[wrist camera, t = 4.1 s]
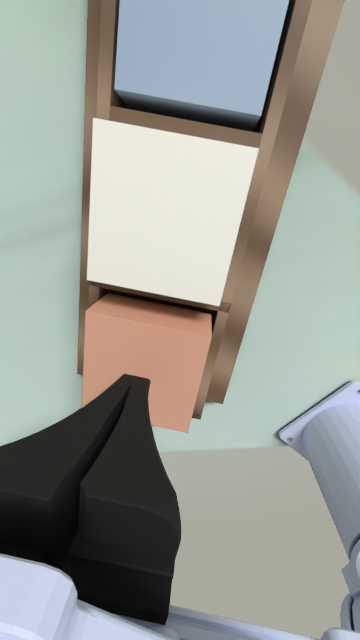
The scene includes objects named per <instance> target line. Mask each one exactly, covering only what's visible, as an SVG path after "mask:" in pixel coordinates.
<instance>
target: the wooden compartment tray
mask: <svg viewBox="0 0 360 640" xmlns="http://www.w3.org/2000/svg"><path fill="white" fill-rule="evenodd" d="M343 3H344V0H289V3H288V7H287V11H286V16H285V20H284V24H283V28H282V32H281V36H280V40H279V44H278V48H277V53H276V57H275V61H274V65H273V69H272V73H271V77H270V81H269V86H268V90H267V94H266V98H265V102H264V106H263V110H262V114H261V117H260V119H259V121H258V122H257V124H256V126H255V128H254V130H253V132H251V131H245V130H240V129H234V128H229V127H223V126H218V125H212V124H207V123H202V122H196V121H191V120H185V119H180V118H174V117H169V116H164V115H158V114H153V113H147V112H142V111H136V110H131V109H129V108H128V107H127V105H126V104H125V103H124V101H123V100H122V99H121V97H120V96H119V95H118V93H117V92H116V91H115V89H114V85H115V69H116V53H117V37H118V21H119V5H120V0H88V19H87V54H86V89H85V124H84V159H83V195H82V230H81V265H80V300H79V335H78V371H77V374H81V375H83V365H84V339H85V313H86V310H87V309H89V308H90V307H91V306H92V305H94V304H95V303H96V302H97V301H99V300H100V299H101V298H102V297H104V296H105V295H106V294H107V293H111V294H116V295H121V296H126V297H131V298H136V299H141V300H146V301H151V302H156V303H161V304H166V305H171V306H176V307H181V308H186V309H191V310H196V311H201V312H206V313H211V323H212V338H211V342H210V346H209V350H208V354H207V358H206V362H205V366H204V370H203V374H202V378H201V382H200V386H199V390H198V394H197V398H196V402H195V406H194V410H193V414H192V418H196V419H201V415H202V411H203V407H204V404H205V400H206V401H211V402H216V403H221V404H223V401H224V398H225V395H226V391H227V388H228V385H229V381H230V378H231V375H232V372H233V368H234V365H235V362H236V358H237V355H238V352H239V348H240V345H241V342H242V338H243V335H244V332H245V328H246V325H247V322H248V318H249V315H250V312H251V309H252V305H253V302H254V299H255V295H256V292H257V289H258V285H259V282H260V279H261V275H262V272H263V269H264V265H265V262H266V259H267V256H268V252H269V249H270V246H271V242H272V239H273V236H274V232H275V229H276V226H277V222H278V219H279V216H280V212H281V209H282V206H283V202H284V199H285V196H286V193H287V189H288V186H289V183H290V179H291V176H292V173H293V169H294V166H295V163H296V159H297V156H298V153H299V149H300V146H301V143H302V140H303V136H304V133H305V130H306V126H307V123H308V120H309V116H310V113H311V110H312V106H313V103H314V99H315V96H316V93H317V90H318V86H319V83H320V80H321V76H322V73H323V70H324V67H325V63H326V60H327V57H328V53H329V50H330V47H331V43H332V40H333V37H334V33H335V30H336V26H337V23H338V20H339V17H340V14H341V10H342V7H343ZM93 118H98V119H103V120H108V121H114V122H119V123H125V124H130V125H135V126H141V127H146V128H152V129H157V130H162V131H168V132H173V133H179V134H184V135H189V136H195V137H200V138H205V139H211V140H216V141H222V142H227V143H232V144H238V145H243V146H249V147H254V148H259V151H258V155H257V159H256V163H255V167H254V171H253V175H252V179H251V183H250V187H249V191H248V195H247V199H246V203H245V207H244V211H243V215H242V219H241V222H240V226H239V230H238V234H237V238H236V242H235V246H234V250H233V254H232V258H231V262H230V266H229V270H228V274H227V278H226V282H225V286H224V290H223V294H222V298H221V302H220V306H215V305H210V304H205V303H200V302H195V301H190V300H185V299H180V298H175V297H170V296H165V295H160V294H155V293H150V292H145V291H140V290H135V289H130V288H125V287H120V286H115V285H110V284H105V283H100V282H95V281H90V280H87V262H88V236H89V210H90V184H91V158H92V132H93Z"/></svg>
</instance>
